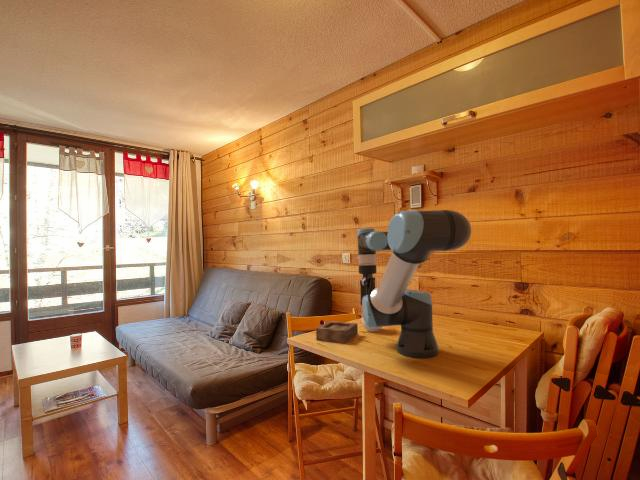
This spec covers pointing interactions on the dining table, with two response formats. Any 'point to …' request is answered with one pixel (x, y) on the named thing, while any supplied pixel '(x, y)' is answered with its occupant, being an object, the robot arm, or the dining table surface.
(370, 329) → the lidded jar
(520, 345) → the dining table surface
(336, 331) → the walnut base
